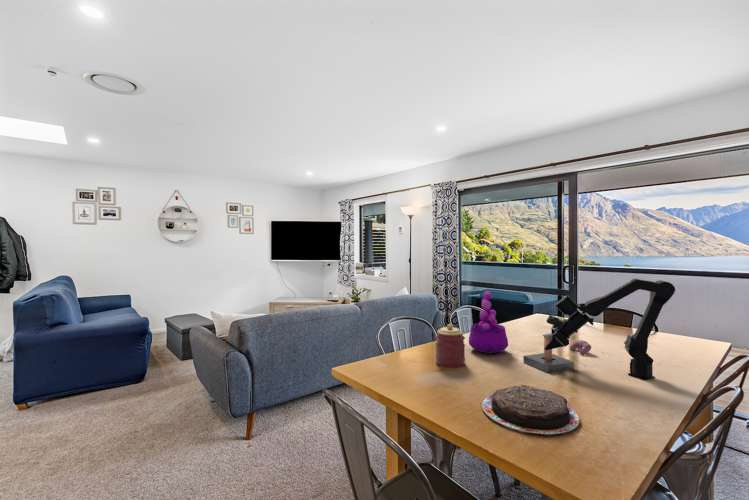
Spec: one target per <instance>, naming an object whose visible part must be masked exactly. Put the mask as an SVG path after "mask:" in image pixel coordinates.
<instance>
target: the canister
mask: <svg viewBox="0 0 749 500" xmlns="http://www.w3.org/2000/svg"><path fill="white" fill-rule="evenodd" d="M436 332H437V334H436V335H435V336H434V337H435V339H436V342H435V363H436V364H437V365H438V366H441V367H446V368H459V367H462V366H464V365H465V362H466V358H465V357H466V356H465V353H466V352H465V346H466V345H465V342H464V341H465V339H466V338H465V336H464V335H463V331H462V330H461V329H460V328H457V327H454V326H453V324H451V323H449V324H447V325H446V326H445V327H441V328H439V329H438V330H437V331H436Z"/></svg>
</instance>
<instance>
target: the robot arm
mask: <svg viewBox="0 0 749 500" xmlns="http://www.w3.org/2000/svg"><path fill="white" fill-rule="evenodd" d="M638 290H642V291H647V292H649V302H648V304H647V306H646V308H645V310H644V313H643V315H642V318H641V319H640V322H639V324H638V326H637V328H636V330H635V332H634V333H633V334H632V335H630V334H627V337H626V340H625V341H624V342H623V344H624V349H625V351H626V353H628V355H629V356H630V357H631V358H630V362H629V373H627V375H629V376H630V377H634V378H637V379H639V380H643V381H647V380H652V379H656V376H655V375H654V374H653V362H654V359H653V358H652V357H651V356H650V355H649V353H648V352H647V351H648V347H649V337H650V336H651V332H653V329H654V326H655V324H656V322H657V320H658V317H659V316H660V313H661V312H662V309H663V306H664V305H665V304H666V303H668V302H669V301H670V299H672V297H673V295H674V294H675V293H676V287H675V286H674V284H673V283H671V282H669V281H666V280H662V279H661V280H656V281H652V280H645V279H640V278H632V279H631V280H630V281H628V282H626V283H625V284H623V285H621V286H619V287H618V288H616V289H614V290H612V291H610V292H609V293H607V294H605V295H603V296H600V297H596V298H594V299H590V300H588V301H586V302H583V303H576V302H575V301H574V300H573V299H572V298H571V297H570V296H569V295H566V296H564V297H563V298H561V299H559V300H558V301H557V302H556V303H555V304H554V306H555V308H557V309H558V310H559V312H561V313H562V314H563V315H564V316H569V317H568V318H564V319H563V320H562V319H560V318H559V317H556V316H555V315H552V314H549V315H548V316H547V319H546V323H547V324H549V325H552V327H551V328H550V331H551V332H550V333H552V340H551V341H550V342H549V343H548V345H547V346H546V347H545V350H550V349H552V350H554V349H559V348H564V347H565V348H567V346H568V345H570V338H571V336H572V335H573V334H577V333H578V332H579V330H580V329H581V328H582V327H584V326H585V325H586V324H587V323H589V324H590V325H591V326H594V320H595V317H598V316H600V315H602V313H604V312H605V311H606V310H607V309H608V308H609V307H610V306H611V305H612V304H615V303H616V302H618V301H620V300H622V299H624V298H625V297H628V296H629V295H631V294H634V292H636V291H638Z"/></svg>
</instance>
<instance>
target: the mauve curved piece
mask: <svg viewBox="0 0 749 500" xmlns="http://www.w3.org/2000/svg"><path fill="white" fill-rule="evenodd" d="M569 350H570V351H575V350H577V351H578V352H579V355H580V356H584V355H587V354H588V353H589V352H591V350H592V345H591V344H590V343H589V342H588V341H586V340H583V339H577V340H576V341H575V342H574V343H572V344H571V345H570V346H569Z"/></svg>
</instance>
